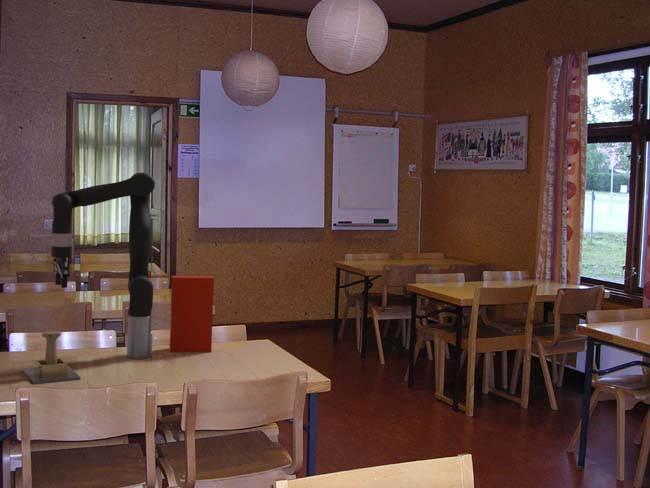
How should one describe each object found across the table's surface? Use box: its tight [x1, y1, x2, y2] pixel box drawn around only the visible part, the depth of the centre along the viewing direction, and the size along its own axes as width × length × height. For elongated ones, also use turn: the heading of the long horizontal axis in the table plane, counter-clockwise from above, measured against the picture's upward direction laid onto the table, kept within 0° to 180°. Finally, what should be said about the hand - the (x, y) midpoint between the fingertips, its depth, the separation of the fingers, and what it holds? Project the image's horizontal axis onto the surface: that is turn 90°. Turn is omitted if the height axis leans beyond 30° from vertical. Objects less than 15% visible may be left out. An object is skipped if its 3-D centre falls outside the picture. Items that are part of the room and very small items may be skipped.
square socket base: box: [21, 357, 81, 385], centre depth 268 cm, size 16×20×5 cm
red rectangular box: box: [169, 275, 215, 353], centre depth 316 cm, size 8×17×32 cm, turn 104°
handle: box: [41, 330, 62, 365], centre depth 267 cm, size 5×6×15 cm
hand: (61, 286), depth 286 cm, fingers open, 8 cm apart
